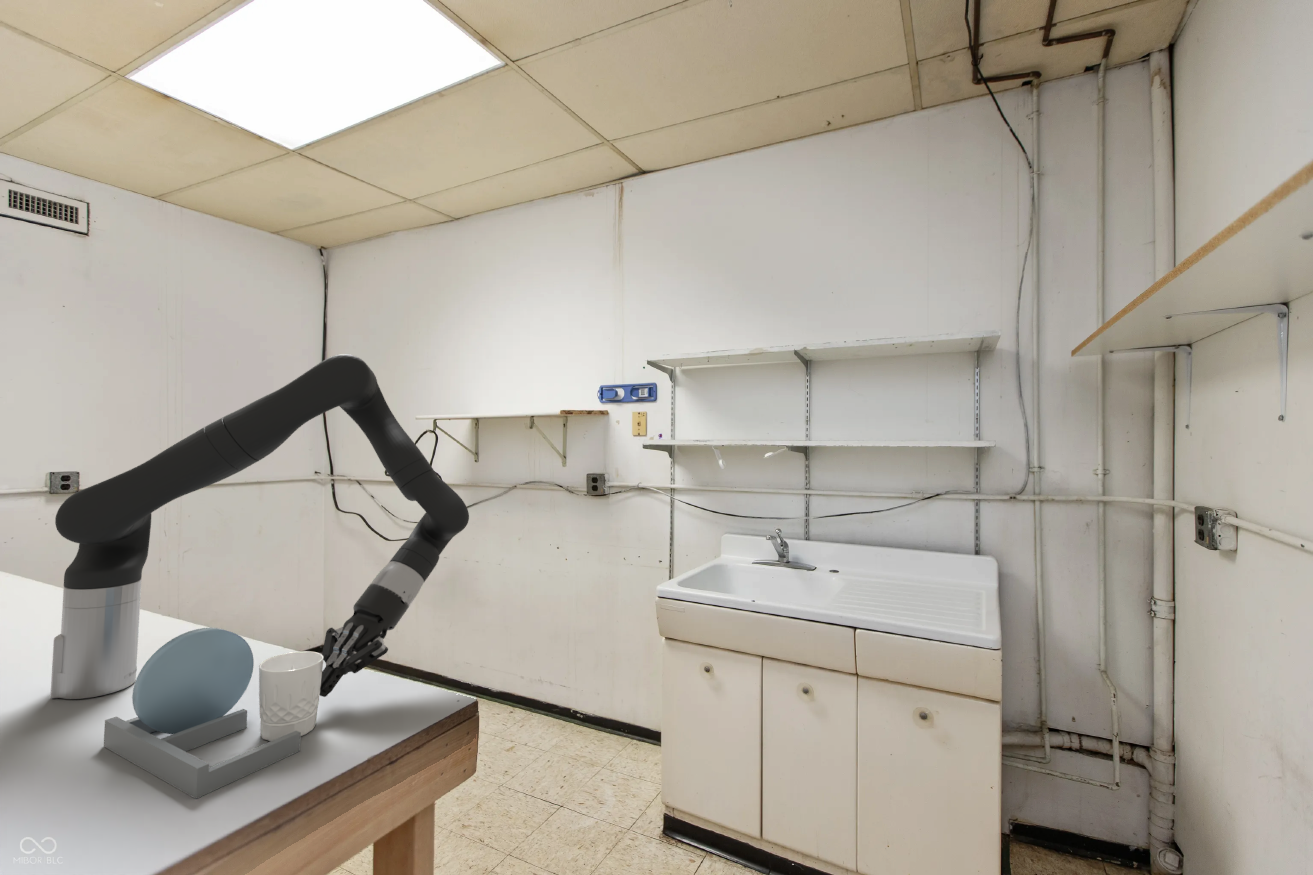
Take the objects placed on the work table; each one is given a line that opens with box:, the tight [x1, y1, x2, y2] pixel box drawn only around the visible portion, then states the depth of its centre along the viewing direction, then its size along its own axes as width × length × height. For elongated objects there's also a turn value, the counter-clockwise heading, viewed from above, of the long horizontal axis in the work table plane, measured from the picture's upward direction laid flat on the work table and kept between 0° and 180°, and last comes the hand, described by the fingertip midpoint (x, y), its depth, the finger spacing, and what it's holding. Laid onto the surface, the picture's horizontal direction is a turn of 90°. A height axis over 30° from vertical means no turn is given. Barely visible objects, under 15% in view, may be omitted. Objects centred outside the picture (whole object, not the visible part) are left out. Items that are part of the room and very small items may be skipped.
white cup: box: [258, 650, 324, 742], centre depth 83 cm, size 8×8×10 cm
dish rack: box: [103, 627, 302, 799], centre depth 78 cm, size 15×23×14 cm, turn 64°
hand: (317, 693), depth 86 cm, fingers closed
